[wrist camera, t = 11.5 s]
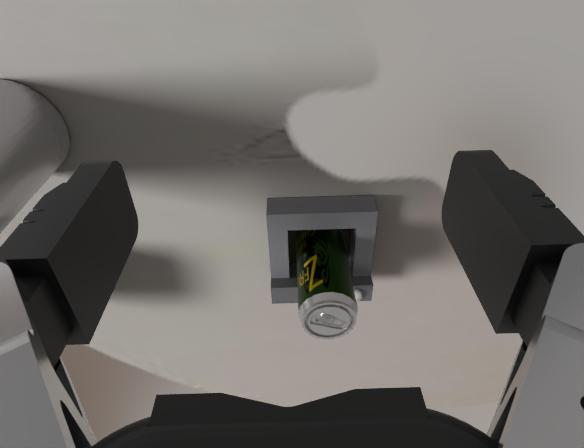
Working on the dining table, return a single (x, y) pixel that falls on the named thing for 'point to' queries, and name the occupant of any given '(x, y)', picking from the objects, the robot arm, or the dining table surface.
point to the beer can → (324, 284)
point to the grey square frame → (315, 216)
